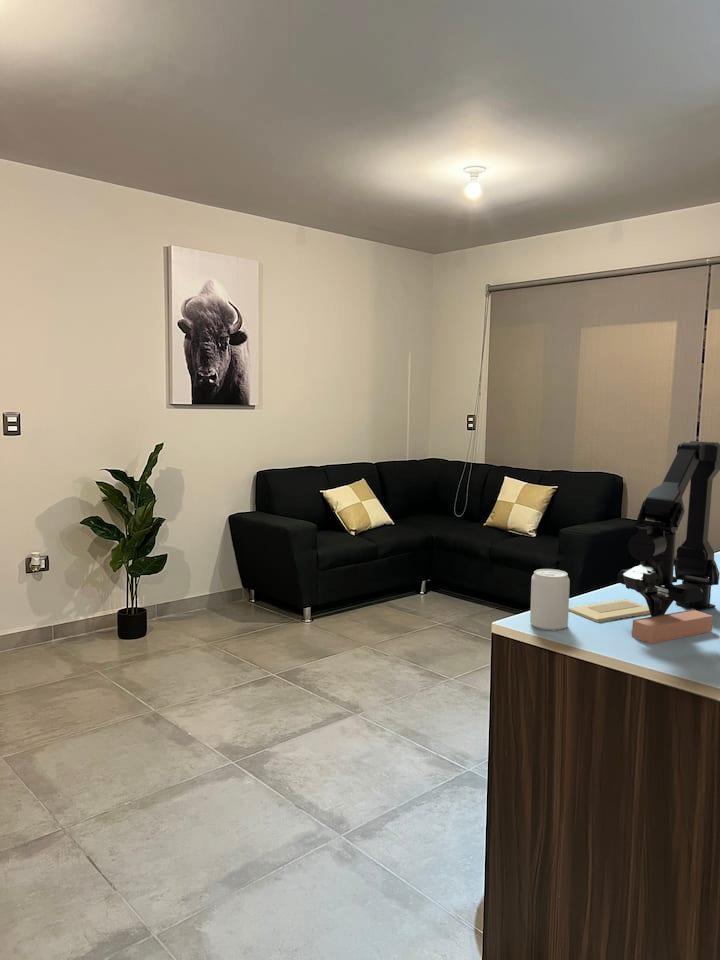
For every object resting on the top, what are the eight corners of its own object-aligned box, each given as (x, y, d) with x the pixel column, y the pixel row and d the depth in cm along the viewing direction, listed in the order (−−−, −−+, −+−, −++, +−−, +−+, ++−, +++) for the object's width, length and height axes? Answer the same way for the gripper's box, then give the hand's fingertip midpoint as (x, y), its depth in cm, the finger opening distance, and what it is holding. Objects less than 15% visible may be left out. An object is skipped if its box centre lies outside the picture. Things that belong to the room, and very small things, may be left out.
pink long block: (692, 624, 163) (693, 609, 162) (711, 631, 158) (712, 615, 158) (631, 636, 155) (632, 619, 155) (650, 643, 151) (651, 626, 150)
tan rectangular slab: (625, 601, 181) (625, 598, 181) (657, 612, 172) (657, 609, 172) (568, 610, 173) (568, 607, 173) (598, 622, 164) (598, 619, 164)
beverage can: (569, 633, 157) (571, 578, 156) (530, 630, 159) (532, 576, 157) (566, 621, 165) (568, 569, 164) (529, 619, 167) (531, 567, 165)
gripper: (600, 547, 163) (597, 615, 165) (667, 566, 146) (663, 641, 148) (637, 543, 168) (634, 609, 170) (707, 561, 151) (702, 634, 153)
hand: (656, 623), depth 160 cm, fingers closed
